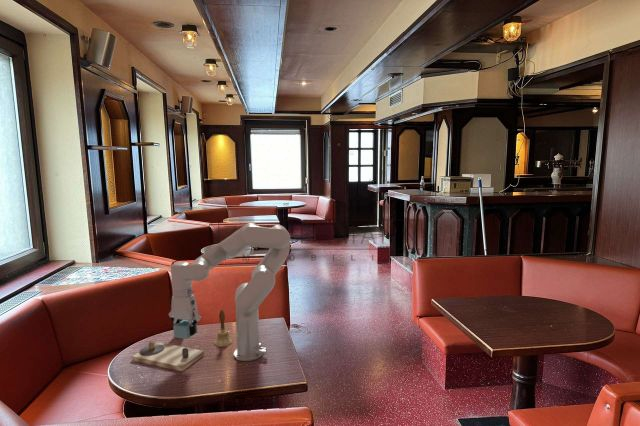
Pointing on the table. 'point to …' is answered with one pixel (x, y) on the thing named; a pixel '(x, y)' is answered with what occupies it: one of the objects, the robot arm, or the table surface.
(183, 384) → the table surface
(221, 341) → the hand bell
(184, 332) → the collar
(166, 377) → the table surface
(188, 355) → the base board
